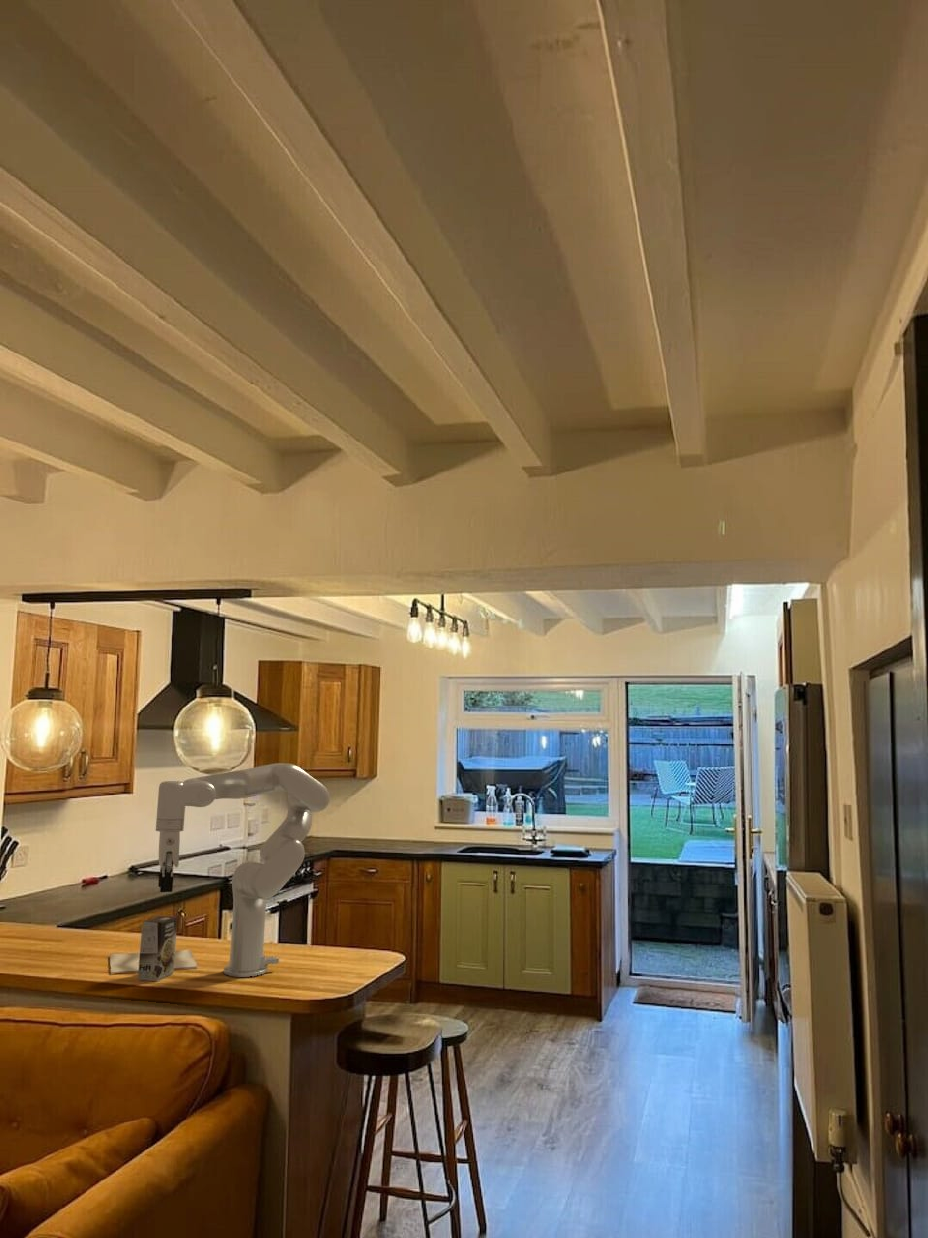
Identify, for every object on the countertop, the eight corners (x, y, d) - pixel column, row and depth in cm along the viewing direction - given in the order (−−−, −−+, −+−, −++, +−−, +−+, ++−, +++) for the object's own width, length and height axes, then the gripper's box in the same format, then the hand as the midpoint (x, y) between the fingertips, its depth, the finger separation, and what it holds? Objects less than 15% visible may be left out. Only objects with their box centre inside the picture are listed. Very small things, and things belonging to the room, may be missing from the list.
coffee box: (157, 982, 245) (161, 922, 247) (136, 980, 246) (141, 920, 248) (174, 973, 254) (178, 916, 256) (154, 972, 255) (158, 914, 257)
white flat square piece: (190, 951, 280) (190, 949, 280) (197, 968, 260) (197, 966, 260) (109, 956, 271) (110, 954, 271) (110, 974, 251) (110, 972, 251)
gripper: (186, 828, 240) (181, 894, 238) (181, 822, 256) (176, 884, 254) (157, 828, 238) (152, 895, 235) (154, 822, 253) (149, 885, 251)
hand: (165, 889), depth 244 cm, fingers open, 7 cm apart
